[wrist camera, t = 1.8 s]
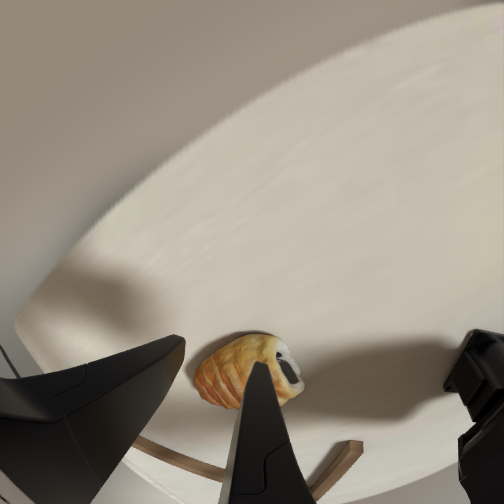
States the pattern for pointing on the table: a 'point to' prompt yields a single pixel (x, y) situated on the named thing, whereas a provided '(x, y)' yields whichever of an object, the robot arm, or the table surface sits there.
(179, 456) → the walnut frame
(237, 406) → the pastry
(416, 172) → the table surface
